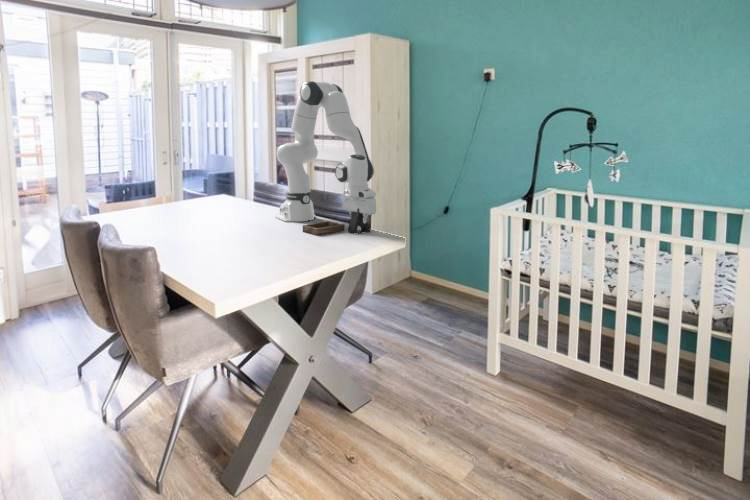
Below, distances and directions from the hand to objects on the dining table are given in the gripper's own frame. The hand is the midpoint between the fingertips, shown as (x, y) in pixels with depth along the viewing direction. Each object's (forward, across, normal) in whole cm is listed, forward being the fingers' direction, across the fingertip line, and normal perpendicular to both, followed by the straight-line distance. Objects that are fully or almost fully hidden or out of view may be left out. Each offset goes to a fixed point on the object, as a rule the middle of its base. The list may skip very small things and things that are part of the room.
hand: (358, 221), depth 239 cm
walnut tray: (+5, -12, -11) cm, 17 cm away
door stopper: (+5, 0, 0) cm, 5 cm away
